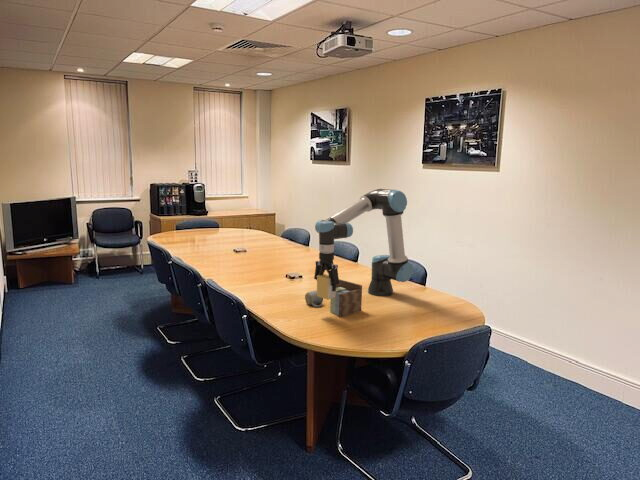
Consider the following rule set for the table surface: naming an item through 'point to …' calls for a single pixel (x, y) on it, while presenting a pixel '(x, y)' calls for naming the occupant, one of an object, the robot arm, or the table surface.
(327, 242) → the robot arm
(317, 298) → the ceramic mug
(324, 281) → the ochre book
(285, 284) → the table surface
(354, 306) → the brown wooden box
